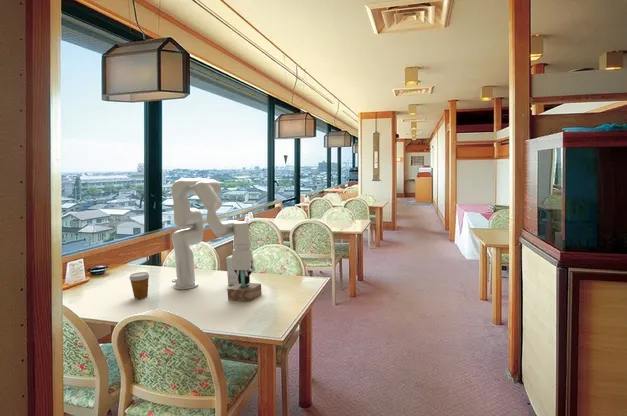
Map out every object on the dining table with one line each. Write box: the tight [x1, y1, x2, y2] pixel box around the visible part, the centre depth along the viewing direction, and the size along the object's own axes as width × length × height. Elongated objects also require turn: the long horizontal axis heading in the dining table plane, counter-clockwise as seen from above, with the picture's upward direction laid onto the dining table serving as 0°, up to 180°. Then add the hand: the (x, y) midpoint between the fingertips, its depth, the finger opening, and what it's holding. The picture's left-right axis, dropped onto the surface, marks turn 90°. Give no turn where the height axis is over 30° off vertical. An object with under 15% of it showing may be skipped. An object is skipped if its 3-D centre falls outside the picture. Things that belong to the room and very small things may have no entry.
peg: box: [240, 270, 247, 288], centre depth 206 cm, size 3×3×12 cm
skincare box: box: [225, 254, 239, 286], centre depth 232 cm, size 8×7×16 cm
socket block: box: [227, 282, 263, 303], centre depth 207 cm, size 12×12×6 cm
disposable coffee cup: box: [128, 271, 150, 300], centre depth 213 cm, size 10×10×12 cm
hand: (244, 282), depth 207 cm, fingers closed on peg, 3 cm apart
